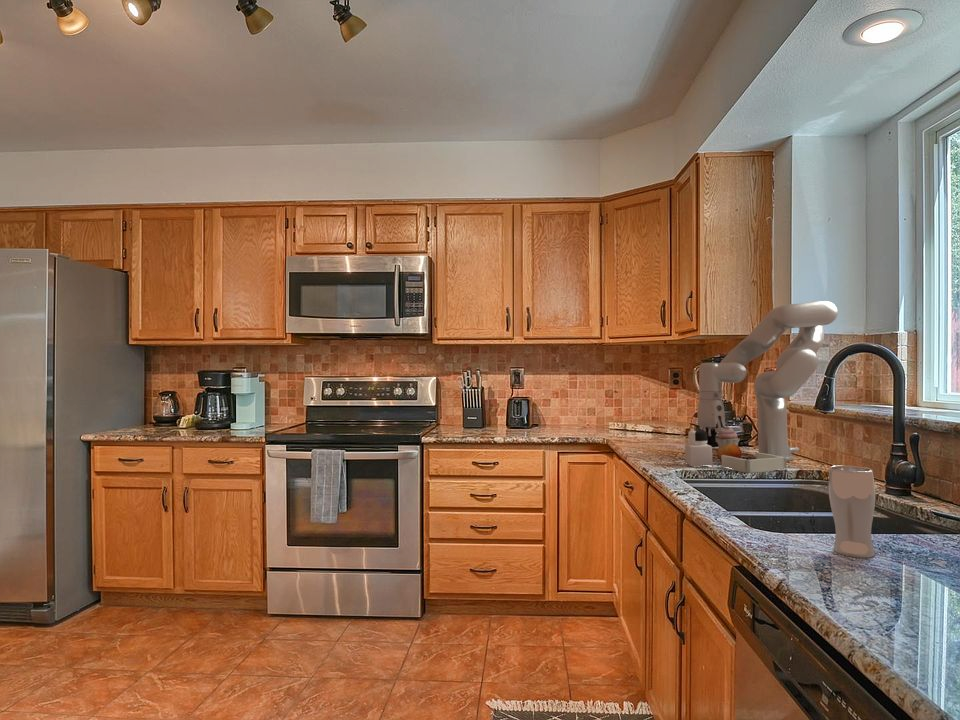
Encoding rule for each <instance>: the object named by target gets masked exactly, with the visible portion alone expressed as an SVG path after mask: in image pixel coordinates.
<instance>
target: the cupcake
mask: <svg viewBox="0 0 960 720" xmlns="http://www.w3.org/2000/svg"><path fill="white" fill-rule="evenodd" d="M721 430H722V431H721V432H718V433H717V436H716V437H715V442H716V443H717V445H718V449H719V448H720V447H722V446H724V445H726V444H729V443H730V444H736V445H737V446H738V447H739V442H740V440H741V438H738V434H737V432H736V431H735V430H734V429H733V428H732V427H731V426H729V425H725V427H724V428H721Z"/></svg>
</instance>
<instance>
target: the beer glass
mask: <svg viewBox="0 0 960 720" xmlns="http://www.w3.org/2000/svg"><path fill="white" fill-rule="evenodd" d="M875 487H876V486H875V479H874V472H873V469H872V468H869V467H866V466H865V467H864V466H859V465H858V466H857V465H832V466H829V467H828V497H829V502H830V503H829V505H830V509H831V513H832V517H833V521H834V527H835V539H834V545H833V551H834V552H835V553H837V554H838V555H842V556H846V557H851V558H858V559H869V558H874V556H875V555H876V554H875V549H874V544H873V540H872V527H873V519H874V514H875V508H876V507H875V506H876V488H875Z"/></svg>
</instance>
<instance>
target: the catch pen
mask: <svg viewBox="0 0 960 720" xmlns="http://www.w3.org/2000/svg"><path fill="white" fill-rule="evenodd" d="M755 454H756V458H754V459H753V458H752V459H745V458H742V457H741V458H736V457H731V456H726V455H721V460H722V462H721V467H722V466H724V467H729V468H732V469H734V470H733V471H736V470H737V471H736V472H740V473H745V474H754V473H755V474H756V473H765V472H774V471H773V470H778V469H784V468H787V469H788V467H787V461H786V457H781V456H775V455H770V454H764V453H759V452H756V453H755Z"/></svg>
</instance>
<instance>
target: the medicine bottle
mask: <svg viewBox="0 0 960 720" xmlns="http://www.w3.org/2000/svg"><path fill="white" fill-rule="evenodd" d="M706 443H707V432H705V431H703V430H701V429H700V430H699V429H697V430H696V429H692V430H690V431H688V443H685V444H684V453H685V454H684V455H685V456H684V457H685V459H684V460H685V464H686V463H687V464H689V465H690V466H701V465H702V466H703V465H712V466H713V447H712V446H710V445H708V444H706ZM687 464H686V465H687ZM689 465H688V466H689ZM690 466H689V467H690Z"/></svg>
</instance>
